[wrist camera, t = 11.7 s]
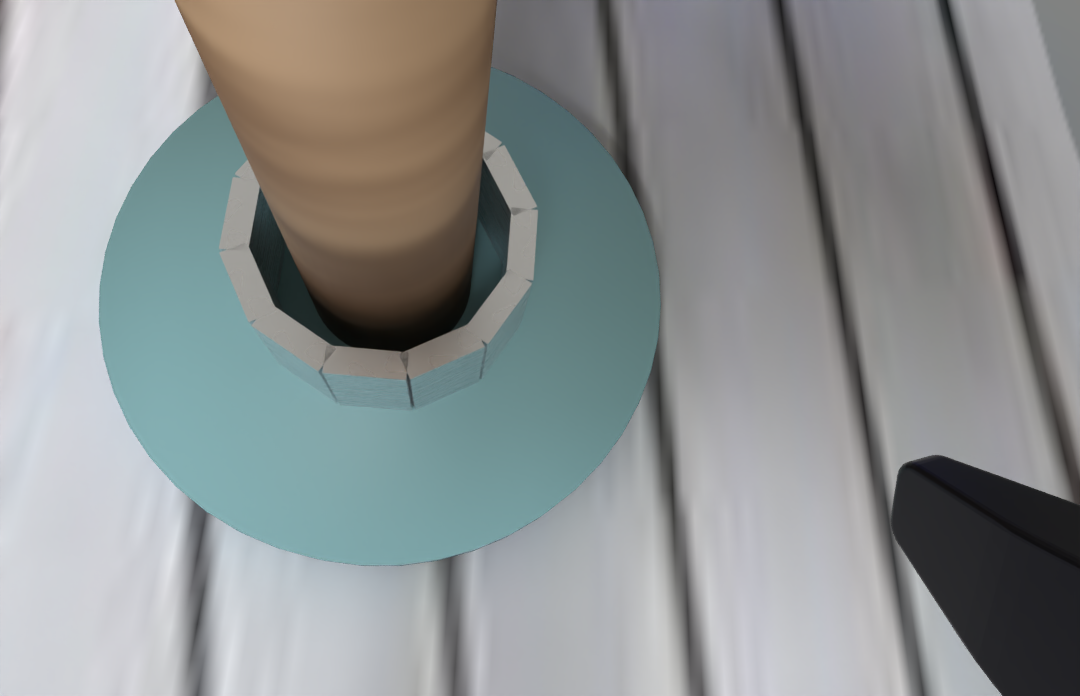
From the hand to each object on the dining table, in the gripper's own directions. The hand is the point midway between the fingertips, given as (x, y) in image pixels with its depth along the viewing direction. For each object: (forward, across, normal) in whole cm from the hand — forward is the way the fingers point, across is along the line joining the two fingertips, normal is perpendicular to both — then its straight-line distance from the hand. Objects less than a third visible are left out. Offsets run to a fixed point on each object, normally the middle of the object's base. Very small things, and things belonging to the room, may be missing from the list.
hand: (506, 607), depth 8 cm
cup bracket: (+14, 0, +3) cm, 15 cm away
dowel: (+13, 0, +2) cm, 13 cm away
